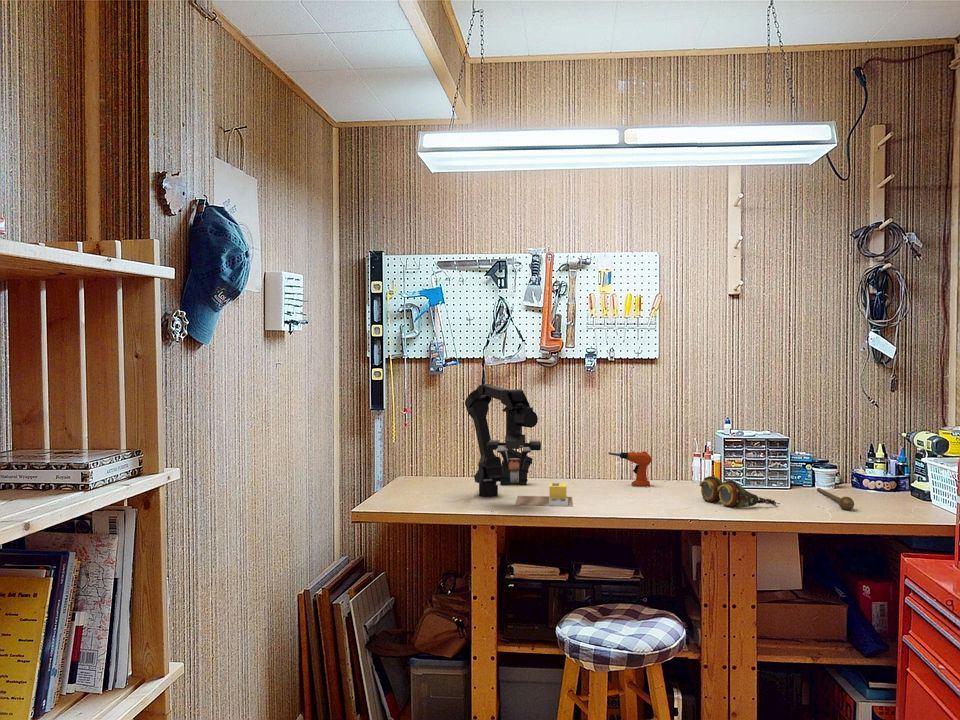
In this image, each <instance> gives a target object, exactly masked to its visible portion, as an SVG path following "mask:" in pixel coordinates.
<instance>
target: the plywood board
mask: <svg viewBox="0 0 960 720" xmlns="http://www.w3.org/2000/svg"><path fill="white" fill-rule="evenodd" d="M549 497H550V495H548V496H544V495H542V496H541V495H517V496H516V500H515V504H514V506H519V507H520V506H523V507H528V506H529V507H550V506H549ZM566 498H568V506H564V507H566V508H567V507H574V502H573V496H566Z"/></svg>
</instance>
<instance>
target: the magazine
mask: <svg viewBox="0 0 960 720" xmlns="http://www.w3.org/2000/svg"><path fill="white" fill-rule="evenodd" d="M507 456H508V459H510V458H518V459H521V457H522V452H519V451H518V450H517V449H507ZM533 460H534V459H533V458H532V457H531V456H528V455H526V458H525V461H524V464H523V468H522V470H521V469H520V470H519V482H518V483H511V482H510V470H507V468H506V465H505V462H504V459H503V460H501V464H502V469H503V472H502V477H501V481H500V486H527V485H528V484H527V482H528V474H529V472H530V471H529V469H530V466H531V465H532V464H533Z"/></svg>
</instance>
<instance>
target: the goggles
mask: <svg viewBox="0 0 960 720" xmlns="http://www.w3.org/2000/svg"><path fill="white" fill-rule="evenodd" d="M698 486H699V487H700V493H701V496H702V499H703V500H704V501H706V500H707V502H709V503H719V502H721V503H722V504H723V505H724V506H726V507H728V508H729V507H731V508H734V507H736V508H735V509H738V508H747V507H748V508H749V507H754V506H756V505H757V504H765V505H773V506H776V505H777V501H776V500H775V499H771V498H763V497H761V496H758V495H757V494H754V493H751V492H749V491H748V490H746V489H745V488H744V487H742V486H741V485H740V484H739V483H738V482H736V480H726V481H724V482H723V481H722V480H720V478H719V477H717V476H712V475H710V476H706V477H704V478H703V480H702V481H700V482H699V485H698ZM759 499H760V500H759Z"/></svg>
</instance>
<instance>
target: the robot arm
mask: <svg viewBox="0 0 960 720" xmlns="http://www.w3.org/2000/svg"><path fill="white" fill-rule="evenodd" d="M492 399H496V400H498V401H499V402H500V403H501V404H502V405H503V406H505V407H504V408H503V409H502V412H503V413H505V435H504V436H505V437H504V442H500V440H499V439H498V440H497V439H496V440H495V439H492V437H491V433H490V429H489V424H488V419H487V415H488V412H489V407H490V406H489V404H490V403H491V402H492ZM464 405H465V408H466V411H467V414H468V415H469V417H471V418H472V420H473V424H474V428H475V429H474V430H475V434H476V439H477V443H478V449H479V454H480V458H479V460H478V464H477V467H478V470H477V471H476V473H475V474H474V476H473V478H474V479H473V480H474V482H475V483H478V496H479V497H483V498H493V497H494V498H495V497H498V496H499V485H498V484H497V483H498V482H500V481H501V477H502V472H503V469H502V460H501V457H502V459H503V460H504V462H505V465H506V468H507V470H508V456H507V450H508V449H514V450H519V449H522V451H521V453H522V457H521V466H520V468H521V470H522V468H523V464H524V461H525V458H526V456H528V454H530V453H532V451H542V442H541V441H540V440H529V442H526V440H527V439H526V434H523V428H528V429H529V428H530V429H531V428H534V427H536V426H537V424H538V421H539V418H538V417H539V416H538V415H537V413H536V412H535V411H534V408H533V407H531V405H530V402H529V401H528V399H527V395H526V394H525V392H524V390H523V389H521V388H519V389H507V388H504V387H500V386H496V385H493V384H490V383H486V384H485V383H484V384H483V383H482V384H480V385H478V387H477V388H475V389H474V390H473V391H471V392H470V393H469V394H468V395H467V397H466V398H465V401H464ZM494 451H496V452H497V453H500V455H501V457H500V456H496V454H495V453H494Z"/></svg>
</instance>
